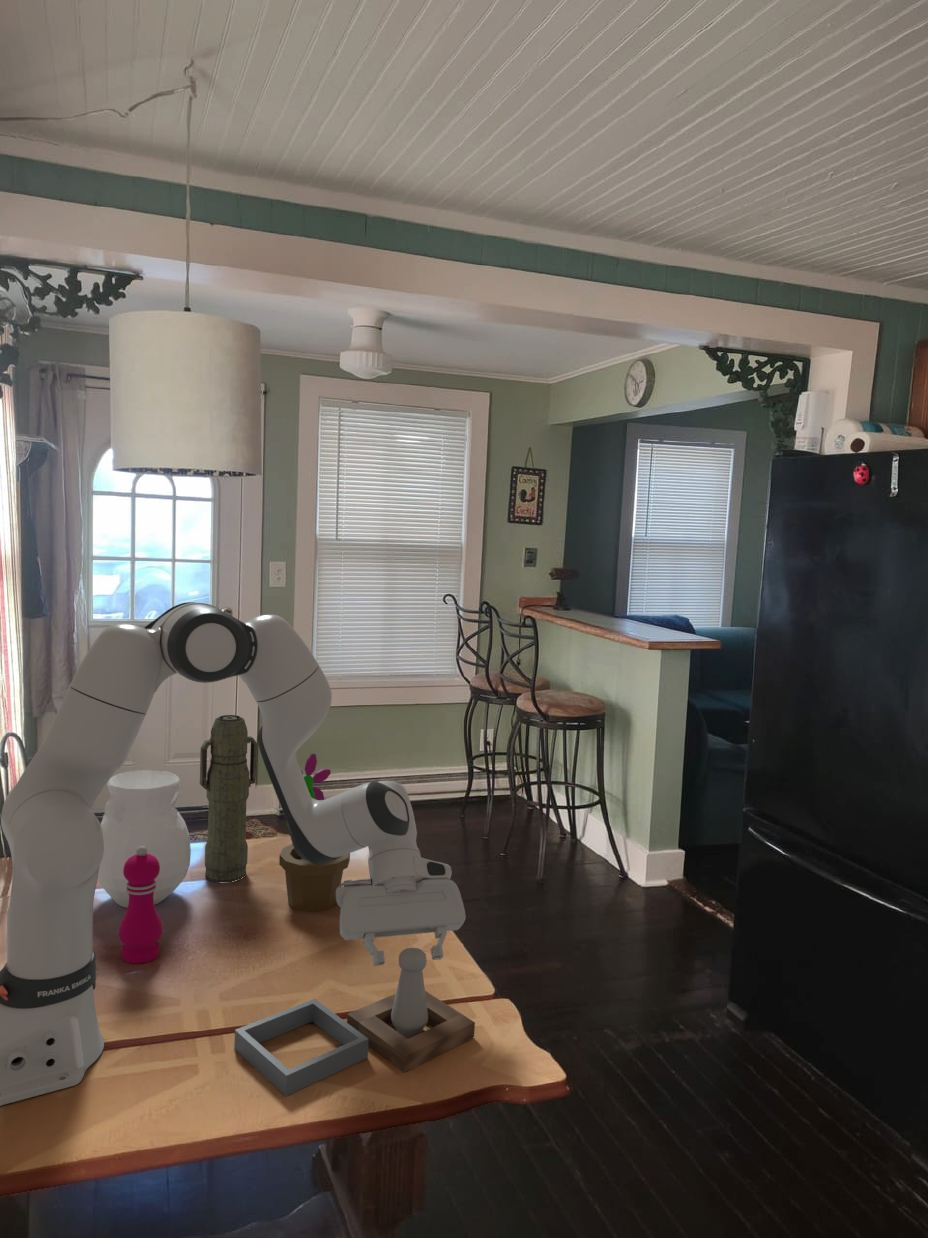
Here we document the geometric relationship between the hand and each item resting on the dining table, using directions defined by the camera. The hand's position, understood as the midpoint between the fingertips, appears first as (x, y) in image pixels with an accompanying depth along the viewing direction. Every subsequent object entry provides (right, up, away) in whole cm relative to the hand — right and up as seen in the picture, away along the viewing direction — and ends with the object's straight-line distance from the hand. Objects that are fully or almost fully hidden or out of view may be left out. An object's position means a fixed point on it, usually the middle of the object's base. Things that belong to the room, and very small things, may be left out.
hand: (408, 961), depth 139 cm
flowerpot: (-22, -5, +45) cm, 50 cm away
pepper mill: (-49, -6, +19) cm, 52 cm away
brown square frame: (0, -11, -1) cm, 11 cm away
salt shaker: (0, -11, 0) cm, 11 cm away
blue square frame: (-15, -11, -8) cm, 20 cm away
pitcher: (-56, -3, +41) cm, 70 cm away
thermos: (-43, -2, +55) cm, 70 cm away
